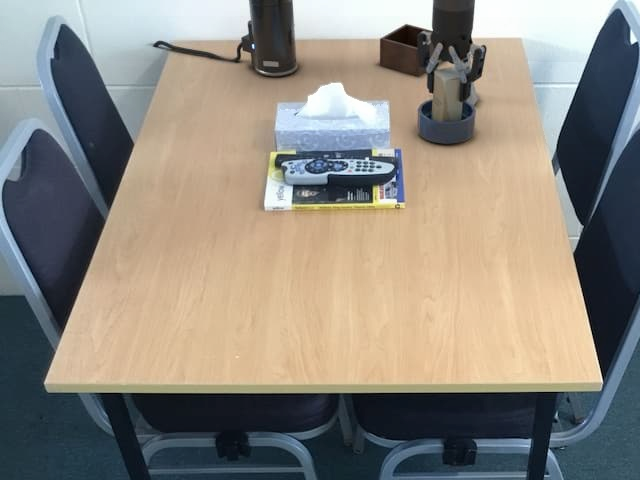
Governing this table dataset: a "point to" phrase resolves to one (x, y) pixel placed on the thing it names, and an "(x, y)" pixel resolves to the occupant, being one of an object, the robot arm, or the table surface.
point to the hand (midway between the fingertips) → (448, 96)
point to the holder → (402, 50)
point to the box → (446, 95)
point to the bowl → (446, 125)
